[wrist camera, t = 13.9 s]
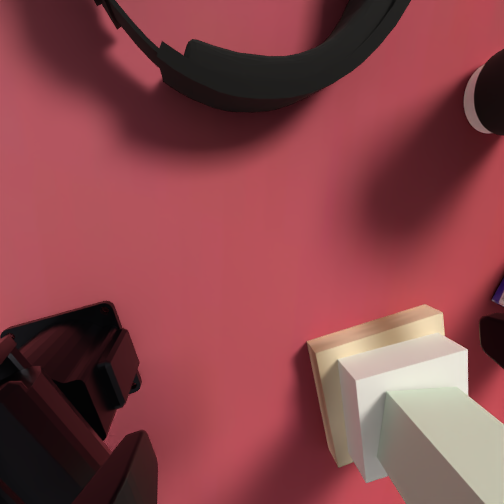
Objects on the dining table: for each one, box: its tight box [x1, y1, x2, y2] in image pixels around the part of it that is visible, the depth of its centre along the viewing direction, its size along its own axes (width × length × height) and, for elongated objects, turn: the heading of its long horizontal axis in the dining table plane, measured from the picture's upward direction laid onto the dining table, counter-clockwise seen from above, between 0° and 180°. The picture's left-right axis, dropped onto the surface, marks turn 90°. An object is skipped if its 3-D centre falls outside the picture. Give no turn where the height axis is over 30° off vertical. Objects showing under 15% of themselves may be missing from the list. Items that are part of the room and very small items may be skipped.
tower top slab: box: [337, 333, 468, 483], centre depth 21 cm, size 8×8×2 cm
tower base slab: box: [307, 304, 445, 468], centre depth 23 cm, size 10×10×2 cm
